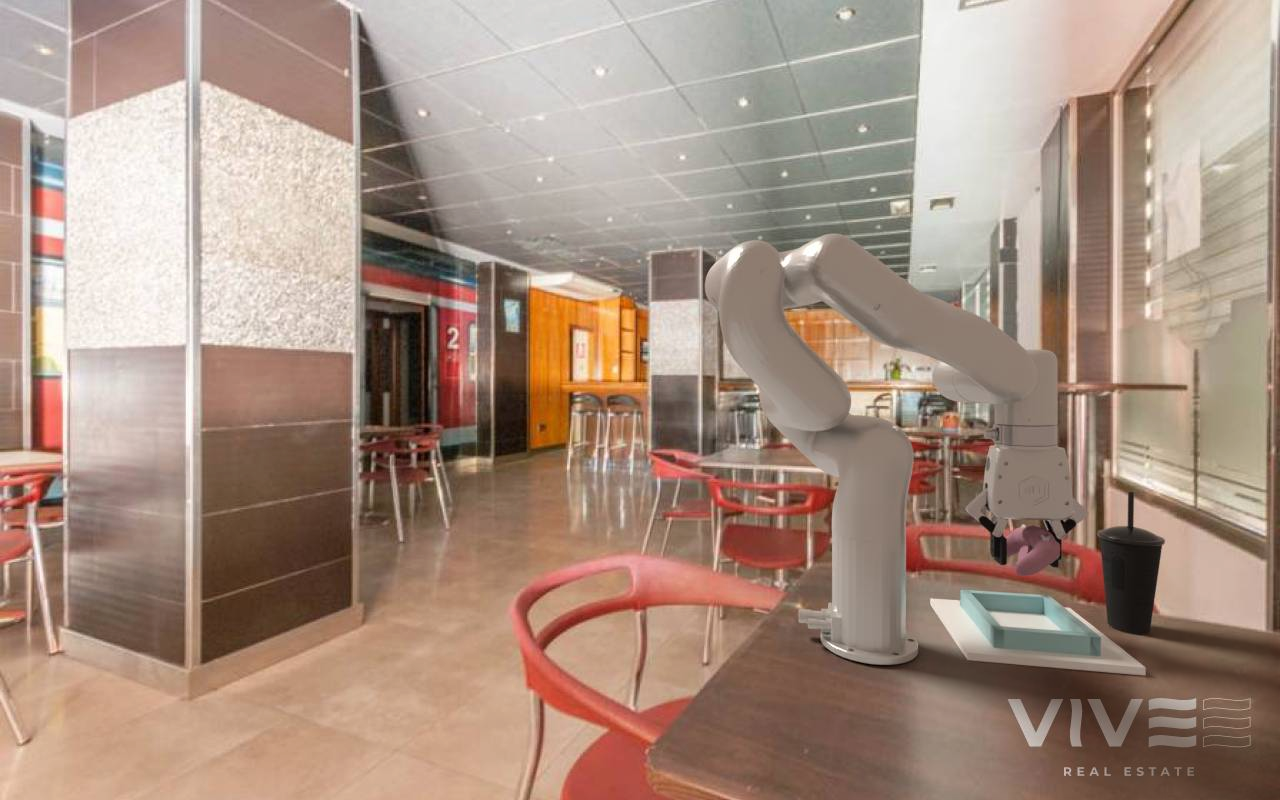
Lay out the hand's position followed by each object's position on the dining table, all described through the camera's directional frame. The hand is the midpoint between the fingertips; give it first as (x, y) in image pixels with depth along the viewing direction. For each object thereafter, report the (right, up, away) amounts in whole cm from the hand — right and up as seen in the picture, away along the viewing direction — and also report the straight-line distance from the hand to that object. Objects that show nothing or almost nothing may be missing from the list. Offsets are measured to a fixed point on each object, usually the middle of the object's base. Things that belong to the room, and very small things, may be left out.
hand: (1025, 562), depth 86 cm
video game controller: (0, -1, 0) cm, 1 cm away
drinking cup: (+17, -10, +3) cm, 20 cm away
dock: (0, -11, 0) cm, 11 cm away
